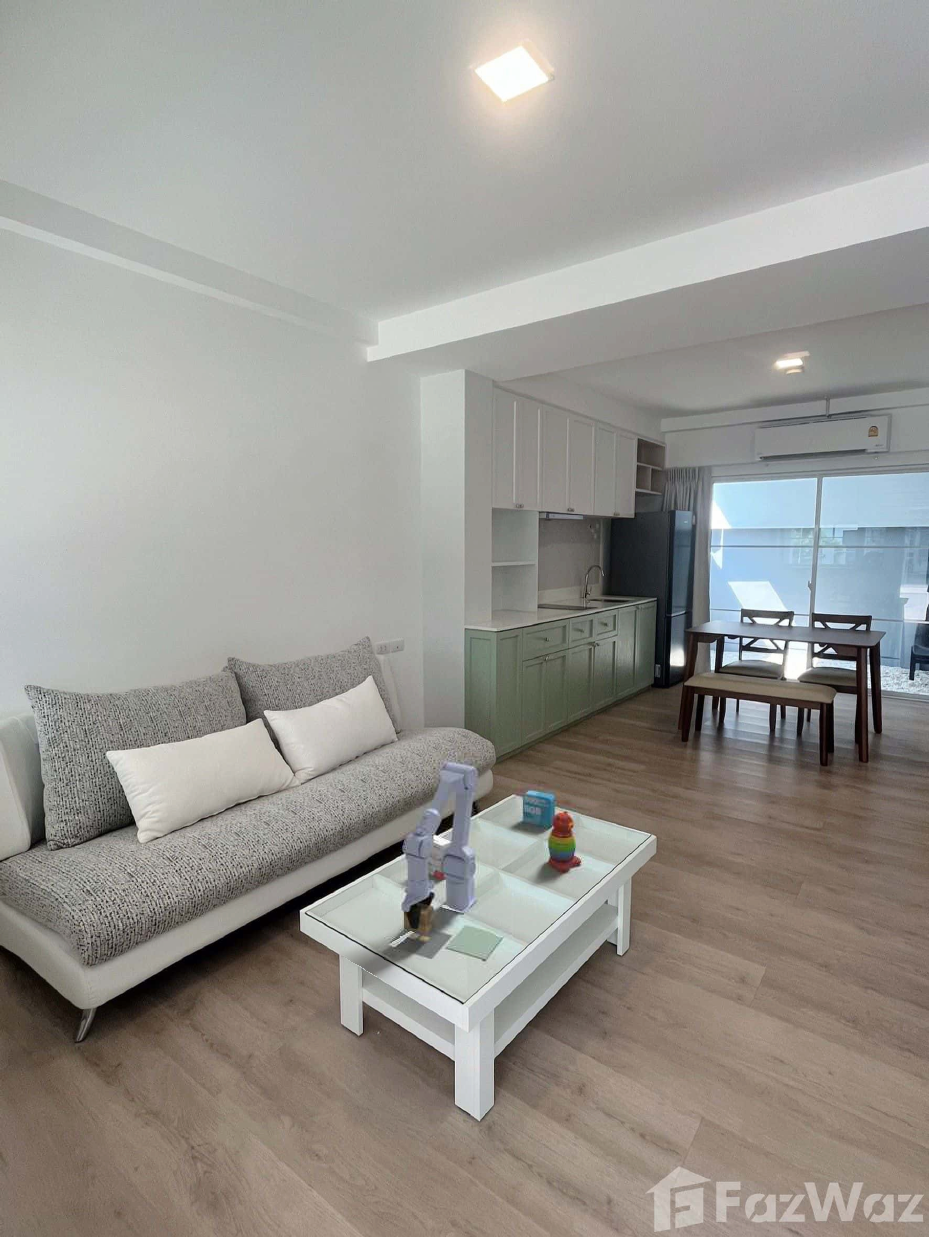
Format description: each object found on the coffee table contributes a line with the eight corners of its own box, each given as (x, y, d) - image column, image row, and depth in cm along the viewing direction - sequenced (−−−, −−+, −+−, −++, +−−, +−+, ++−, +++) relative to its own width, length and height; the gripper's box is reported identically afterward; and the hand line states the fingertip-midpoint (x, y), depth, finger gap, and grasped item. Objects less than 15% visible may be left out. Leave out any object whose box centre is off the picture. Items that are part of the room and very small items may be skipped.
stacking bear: (563, 873, 221) (564, 822, 219) (540, 863, 229) (541, 813, 227) (584, 863, 228) (584, 813, 227) (561, 853, 236) (561, 805, 234)
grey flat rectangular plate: (409, 923, 192) (409, 923, 192) (452, 936, 186) (452, 935, 186) (387, 946, 182) (387, 945, 182) (431, 959, 175) (431, 959, 175)
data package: (522, 822, 263) (522, 793, 262) (527, 818, 267) (527, 789, 266) (550, 828, 257) (550, 798, 256) (555, 824, 261) (555, 794, 260)
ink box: (452, 874, 221) (452, 841, 220) (442, 880, 217) (441, 846, 216) (434, 866, 227) (434, 833, 226) (424, 871, 223) (423, 838, 222)
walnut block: (412, 920, 188) (411, 900, 188) (433, 926, 185) (433, 906, 185) (403, 928, 184) (403, 908, 184) (425, 935, 181) (425, 914, 181)
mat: (465, 926, 191) (465, 924, 191) (503, 936, 186) (503, 935, 186) (445, 948, 180) (445, 947, 180) (485, 960, 175) (485, 959, 175)
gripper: (418, 862, 191) (419, 907, 193) (391, 885, 179) (392, 933, 180) (440, 867, 188) (440, 912, 190) (414, 891, 175) (414, 939, 177)
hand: (418, 923), depth 185 cm, fingers closed on walnut block, 4 cm apart
